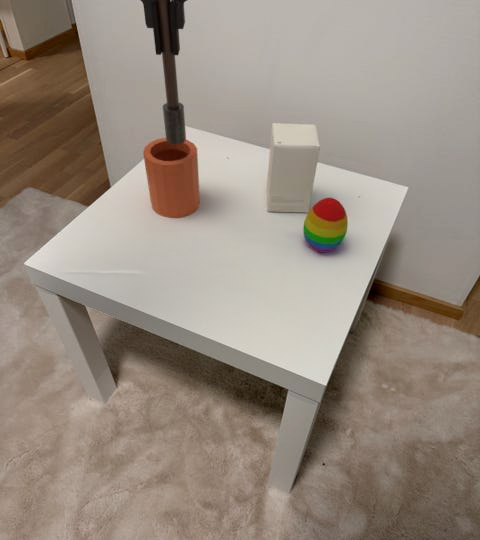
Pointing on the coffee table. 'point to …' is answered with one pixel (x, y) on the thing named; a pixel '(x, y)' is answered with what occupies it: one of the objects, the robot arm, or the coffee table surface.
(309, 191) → the rectangular carton
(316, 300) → the coffee table surface
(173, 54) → the robot arm
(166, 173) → the jar
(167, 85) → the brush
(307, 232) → the decorative egg
